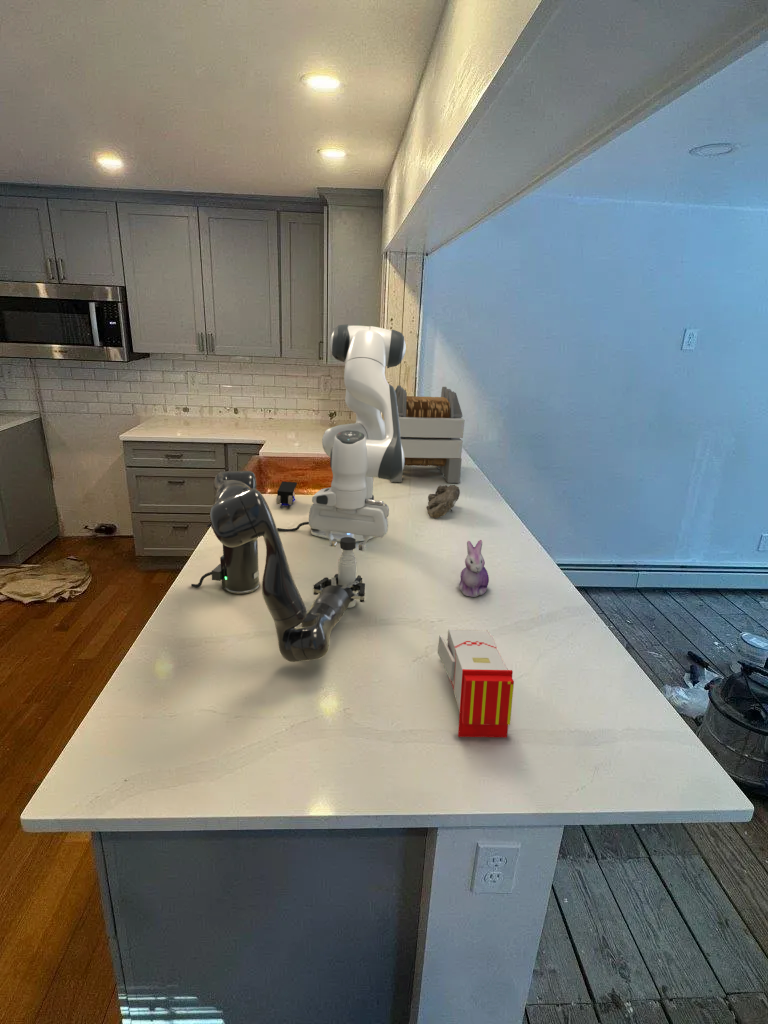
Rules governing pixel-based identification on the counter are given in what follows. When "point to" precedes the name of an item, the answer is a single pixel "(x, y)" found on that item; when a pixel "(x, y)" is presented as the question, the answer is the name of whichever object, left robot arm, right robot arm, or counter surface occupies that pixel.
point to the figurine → (474, 572)
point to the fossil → (442, 500)
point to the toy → (478, 682)
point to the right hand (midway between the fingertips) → (347, 548)
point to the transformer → (431, 432)
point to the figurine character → (286, 494)
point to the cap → (347, 543)
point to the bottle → (347, 570)
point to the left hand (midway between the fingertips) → (349, 577)
